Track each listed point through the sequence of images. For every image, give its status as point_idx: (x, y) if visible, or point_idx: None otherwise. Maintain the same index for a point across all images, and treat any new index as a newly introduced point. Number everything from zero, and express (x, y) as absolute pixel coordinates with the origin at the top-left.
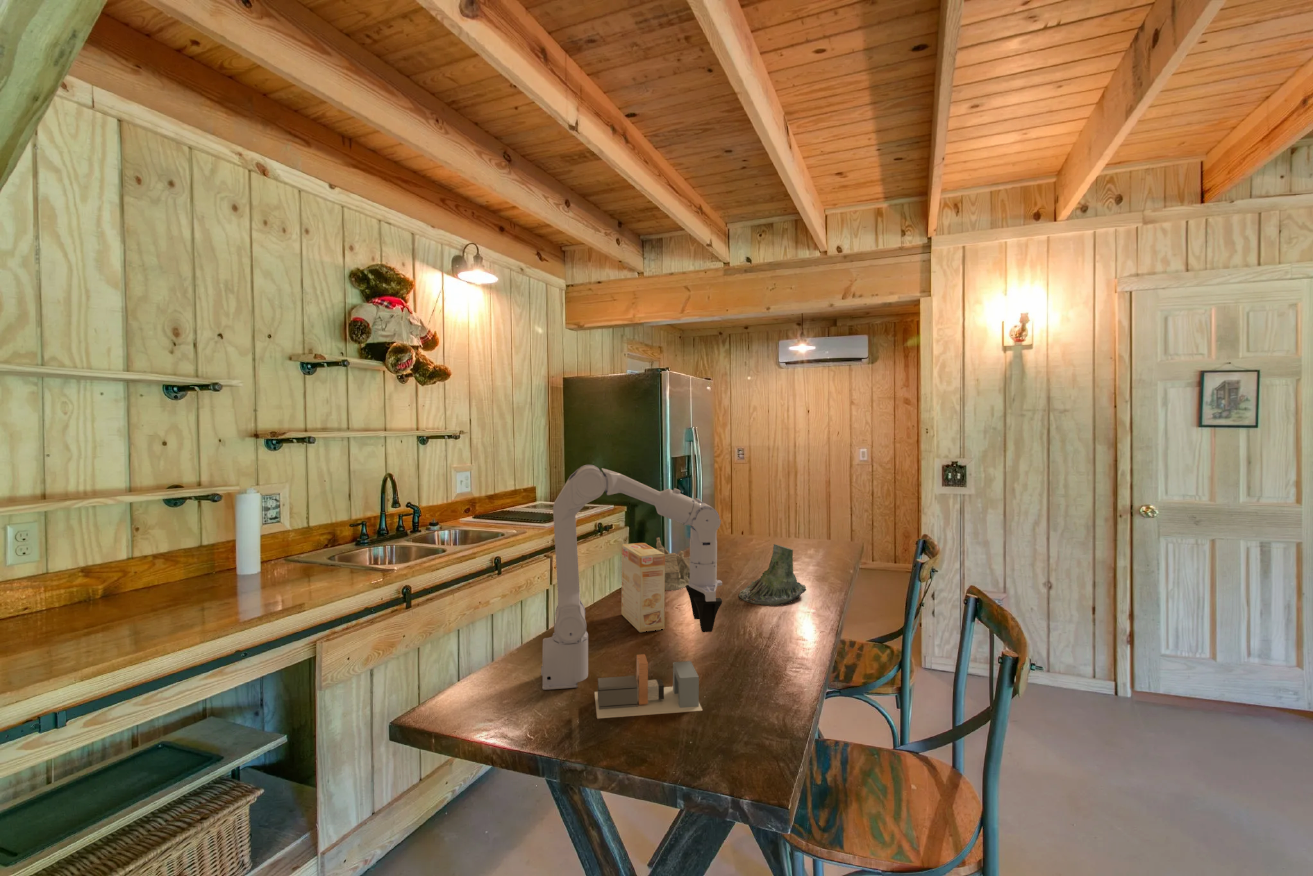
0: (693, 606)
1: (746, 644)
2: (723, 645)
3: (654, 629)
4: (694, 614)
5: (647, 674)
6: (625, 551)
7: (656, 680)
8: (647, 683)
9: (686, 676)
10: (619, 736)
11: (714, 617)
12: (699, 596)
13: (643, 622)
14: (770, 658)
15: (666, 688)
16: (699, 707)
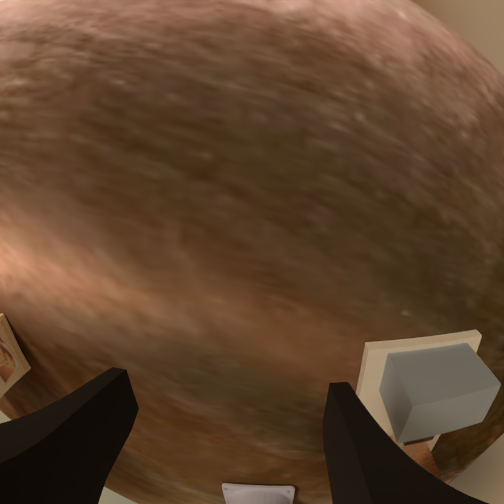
0: (108, 461)
1: (61, 103)
2: (61, 176)
3: (13, 338)
4: (128, 427)
5: (439, 475)
6: None
7: (408, 445)
8: (433, 460)
9: (484, 410)
10: (458, 440)
11: (391, 444)
12: (67, 485)
13: (15, 373)
14: (167, 37)
15: (365, 401)
16: (470, 341)
